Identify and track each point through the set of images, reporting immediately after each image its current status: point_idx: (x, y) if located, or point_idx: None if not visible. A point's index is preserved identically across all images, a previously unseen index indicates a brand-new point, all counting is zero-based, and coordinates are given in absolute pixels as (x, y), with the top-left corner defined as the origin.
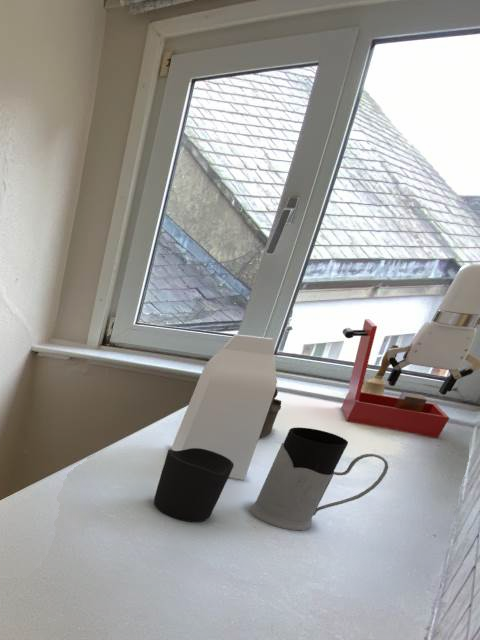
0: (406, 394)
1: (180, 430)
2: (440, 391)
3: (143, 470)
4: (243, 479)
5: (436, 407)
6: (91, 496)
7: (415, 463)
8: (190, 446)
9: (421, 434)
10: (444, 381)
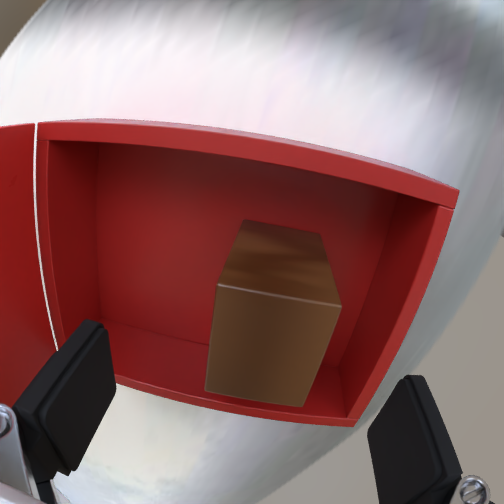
0: (222, 349)
1: None
2: (386, 410)
3: None
4: (69, 501)
5: (414, 284)
6: None
7: (204, 493)
8: None
9: None
10: (421, 445)
